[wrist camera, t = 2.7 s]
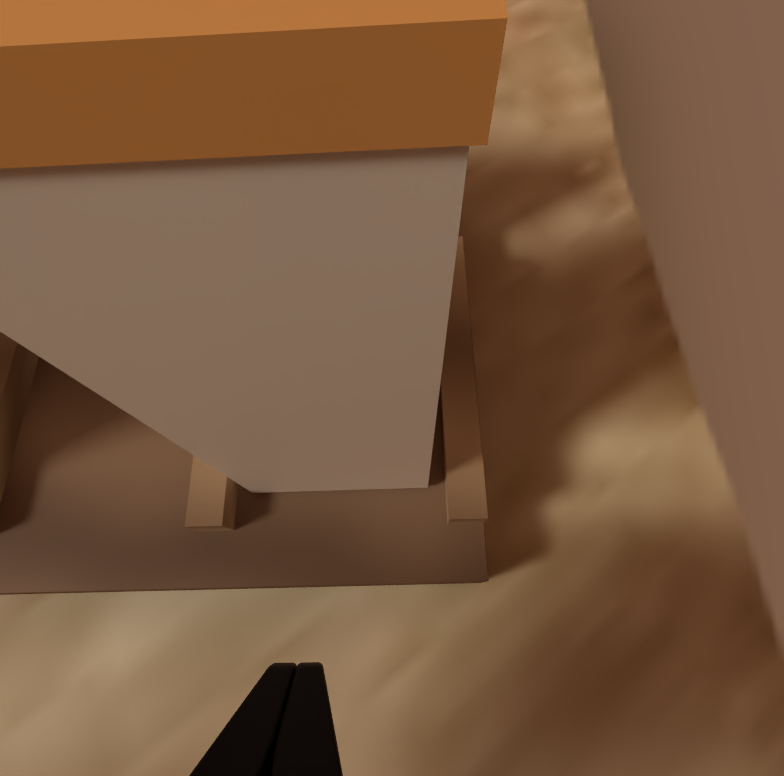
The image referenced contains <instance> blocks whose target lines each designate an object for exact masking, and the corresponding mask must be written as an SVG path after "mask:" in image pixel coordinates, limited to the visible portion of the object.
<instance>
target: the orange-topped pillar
mask: <svg viewBox="0 0 784 776" xmlns="http://www.w3.org/2000/svg"><path fill="white" fill-rule="evenodd" d="M506 24H507V12H506V6H505V0H0V332H2V333H3V334H5V335H6V336H8V337H10V338H11V339H13V340H14V341H16V342H17V343H19V344H20V345H22V346H24V347H25V348H27V349H28V350H30V351H31V352H33V353H35V354H36V355H38V356H39V357H41V358H42V359H44V360H45V361H47V362H49V363H50V364H52V365H53V366H55V367H56V368H58V369H60V370H61V371H63V372H64V373H66V374H67V375H69V376H70V377H72V378H74V379H75V380H77V381H78V382H80V383H81V384H83V385H85V386H86V387H88V388H89V389H91V390H92V391H94V392H96V393H97V394H99V395H100V396H102V397H103V398H105V399H106V400H108V401H110V402H111V403H113V404H114V405H116V406H117V407H119V408H121V409H122V410H124V411H125V412H127V413H128V414H130V415H131V416H133V417H135V418H136V419H138V420H139V421H141V422H142V423H144V424H146V425H147V426H149V427H150V428H152V429H153V430H155V431H156V432H158V433H160V434H161V435H163V436H164V437H166V438H167V439H169V440H171V441H172V442H174V443H175V444H177V445H178V446H180V447H181V448H183V449H185V450H186V451H188V452H189V453H191V454H192V455H194V456H196V457H197V458H199V459H200V460H202V461H203V462H205V463H207V464H208V465H210V466H211V467H213V468H214V469H216V470H217V471H219V472H221V473H222V474H224V475H225V476H227V477H228V478H230V479H232V480H233V481H235V482H236V483H238V484H239V485H241V486H242V487H244V488H246V489H247V490H249V491H250V492H252V493H264V492H297V491H331V490H364V489H398V488H428V481H429V473H430V465H431V456H432V448H433V440H434V432H435V424H436V415H437V407H438V399H439V391H440V382H441V374H442V366H443V358H444V349H445V341H446V333H447V325H448V317H449V308H450V300H451V292H452V284H453V275H454V267H455V259H456V251H457V243H458V234H459V226H460V218H461V210H462V201H463V193H464V185H465V177H466V168H467V160H468V152H469V146H470V145H487V142H488V136H489V130H490V124H491V117H492V111H493V105H494V99H495V93H496V86H497V80H498V74H499V68H500V61H501V55H502V49H503V43H504V37H505V30H506Z"/></svg>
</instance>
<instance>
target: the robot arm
mask: <svg viewBox="0 0 784 776" xmlns="http://www.w3.org/2000/svg"><path fill="white" fill-rule="evenodd" d="M190 776H343V774H342V768H341V763H340V757H339V752H338V746H337V741H336V735H335V730H334V724H333V719H332V713H331V707H330V702H329V696H328V691H327V685H326V680H325V674H324V669H323V665H322V664H321V663H319V662H312V663H300V664H298V666H297V665H296V664H295V663H274V664H272V665H270V666H269V667H268V669H267V670H266V671H265V673H264V674H263V675H262V677H261V678H260V680H259V681H258V682H257V684H256V685H255V686H254V688H253V689H252V691H251V692H250V693H249V695H248V696H247V697H246V699H245V700H244V702H243V703H242V704H241V706H240V707H239V708H238V710H237V711H236V712H235V714H234V715H233V717H232V718H231V719H230V721H229V722H228V723H227V725H226V726H225V728H224V729H223V730H222V732H221V733H220V734H219V736H218V737H217V739H216V740H215V741H214V743H213V744H212V745H211V747H210V748H209V749H208V751H207V752H206V754H205V755H204V756H203V758H202V759H201V760H200V762H199V763H198V765H197V766H196V767H195V769H194V770H193V771H192V773H191V774H190Z"/></svg>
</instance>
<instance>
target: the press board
mask: <svg viewBox="0 0 784 776" xmlns="http://www.w3.org/2000/svg"><path fill="white" fill-rule="evenodd" d="M487 519H488V510H487V499H486V488H485V477H484V466H483V455H482V444H481V433H480V422H479V411H478V400H477V389H476V378H475V367H474V355H473V344H472V333H471V322H470V311H469V300H468V289H467V278H466V267H465V256H464V245H463V236H458V243H457V251H456V259H455V267H454V275H453V284H452V292H451V300H450V308H449V317H448V325H447V333H446V341H445V349H444V358H443V366H442V374H441V382H440V391H439V399H438V407H437V415H436V424H435V432H434V440H433V448H432V456H431V465H430V473H429V481H428V488H398V489H364V490H331V491H297V492H264V493H252V492H250V491H249V490H247V489H246V488H244V487H242V486H241V485H239V484H238V483H236V482H235V481H233V480H232V479H230V478H228V477H227V476H225V475H224V474H222V473H221V472H219V471H217V470H216V469H214V468H213V467H211V466H210V465H208V464H207V463H205V462H203V461H202V460H200V459H199V458H197V457H196V456H194V455H192V454H191V453H189V452H188V451H186V450H185V449H183V448H181V447H180V446H178V445H177V444H175V443H174V442H172V441H171V440H169V439H167V438H166V437H164V436H163V435H161V434H160V433H158V432H156V431H155V430H153V429H152V428H150V427H149V426H147V425H146V424H144V423H142V422H141V421H139V420H138V419H136V418H135V417H133V416H131V415H130V414H128V413H127V412H125V411H124V410H122V409H121V408H119V407H117V406H116V405H114V404H113V403H111V402H110V401H108V400H106V399H105V398H103V397H102V396H100V395H99V394H97V393H96V392H94V391H92V390H91V389H89V388H88V387H86V386H85V385H83V384H81V383H80V382H78V381H77V380H75V379H74V378H72V377H70V376H69V375H67V374H66V373H64V372H63V371H61V370H60V369H58V368H56V367H55V366H53V365H52V364H50V363H49V362H47V361H45V360H44V359H42V358H41V357H39V356H38V355H36V354H35V353H33V352H31V351H30V350H28V349H27V348H25V347H24V346H22V345H20V344H19V343H17V342H16V341H14V340H13V339H11V338H10V337H8V336H6V335H5V334H3V333H2V332H0V595H2V594H43V593H84V592H125V591H166V590H207V589H248V588H289V587H330V586H372V585H413V584H454V583H481V582H486V581H488V570H487V559H486V547H485V535H484V524H483V523H484V522H485V521H486V520H487Z"/></svg>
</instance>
